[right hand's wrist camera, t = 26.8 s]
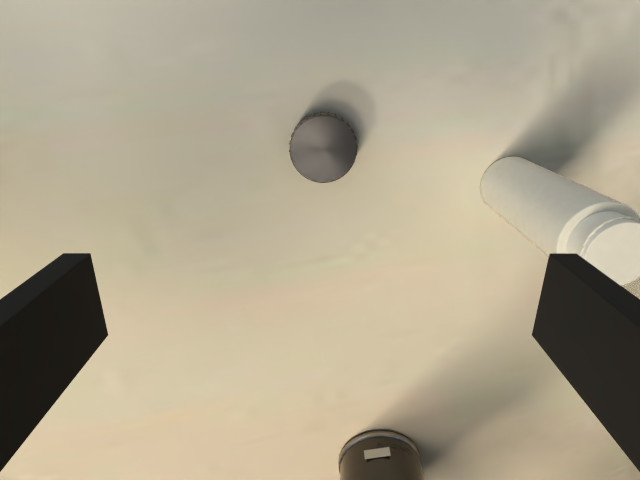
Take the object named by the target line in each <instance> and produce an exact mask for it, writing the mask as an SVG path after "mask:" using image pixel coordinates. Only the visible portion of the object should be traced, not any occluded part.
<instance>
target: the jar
mask: <svg viewBox="0 0 640 480" xmlns="http://www.w3.org/2000/svg"><path fill="white" fill-rule="evenodd" d="M480 194H481V197H482V200H483V201H484V203H485V204H486V205H487V206H488V207H489V208H491V209H492V210H493V211H494V212H495V213H497V214H498V215H499V216H500V217H501V218H503V219H504V220H505V221H506V222H507V223H509V224H510V225H511V226H512V227H513V228H515V229H516V230H517V231H518V232H519V233H521V234H522V235H523V236H524V237H525V238H527V239H528V240H529V241H530V242H531V243H533V244H534V245H535V246H536V247H537V248H539V249H540V250H541V251H542V252H543V253H545V254H546V255H547V256H548V257H549V254H550V253H577V254H578V255H579V256H581V257H582V258H583V259H585V260H586V261H587V262H589V263H590V264H592V265H593V266H594V267H596V268H597V269H598V270H600V271H601V272H603V273H604V274H605V275H607V276H608V277H609V278H611V279H612V280H614V281H615V282H616V283H618V284H619V285H620V286H621V285H625V284H628V283H630V282H632V281H634V280H636V279H637V278H639V277H640V218H639V216H638V215H637V213H636V212H635V211H634V210H633V209H632V208H630V207H629V206H627V205H625V204H623V203H621V202H618V201H616V200H614V199H612V198H610V197H607V196H605V195H603V194H601V193H599V192H596V191H594V190H592V189H590V188H587V187H585V186H583V185H581V184H579V183H576V182H574V181H572V180H570V179H568V178H565V177H563V176H561V175H559V174H557V173H554V172H552V171H550V170H548V169H546V168H543V167H541V166H539V165H537V164H535V163H532V162H530V161H528V160H526V159H523V158H521V157H515V156H513V157H505V158H502V159H500V160H498V161H496V162H495V163H493V164H492V165H491V166H490V167H489V168H488V169H487V170H486V171H485V173H484V175H483V177H482V179H481V183H480Z"/></svg>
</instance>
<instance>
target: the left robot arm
mask: <svg viewBox="0 0 640 480" xmlns="http://www.w3.org/2000/svg"><path fill="white" fill-rule="evenodd" d="M339 472H340V480H425V479H424V475H423V471H422V467H421V459H420V455H419V452H418V449H417V447H416V446H415V445H414V443H413V442H412V441H411V440H409V439H408V438H407V437H405V436H403V435H401V434H398V433H395V432H390V431H372V432H368V433H364V434H361V435H359V436H357V437H355V438H354V439H352V440H351V441H349V442H348V443H347V444H346V445H345V447H344V448H343V449H342V451H341V453H340V456H339Z"/></svg>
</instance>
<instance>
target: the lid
mask: <svg viewBox="0 0 640 480" xmlns="http://www.w3.org/2000/svg"><path fill="white" fill-rule="evenodd" d="M291 137H292V139H291V141H290V143H289V144H290V150H289V152H290V156H291V160H292V162H293V164H294V166H295V168H296V169H297V171H298V172H299V173H300V174H301V175H303V176H304V177H305V178H307V179H309V180H311V181H314V182H320V183H326V182H332V181H335V180H337V179H339V178H341V177H342V176H344V175H345V174H346V173H347V172H348V171H349V170H350V168H351V167H352V165H353V163H354V161H355V158H356V155H357V153H356V152H357V145H356V138H355V136H354V135H353V130H352V129H350V127H349V124H348V123H346V122H345V121H344V120H343V118H340V117H338V116H337V115H336V114H335V115H333V114H330V113H329V112H328V113H322V112H320V113H316V114H314V113H313V115H310V116H308V117H307V116H306V118H305V119H304V120H303V121H300V123H299V125H298V126H296V127H295V131H294V133H292V136H291Z"/></svg>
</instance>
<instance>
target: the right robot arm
mask: <svg viewBox="0 0 640 480" xmlns="http://www.w3.org/2000/svg"><path fill="white" fill-rule="evenodd" d="M107 336H108V332H107V328H106V323H105V319H104V314H103V309H102V305H101V300H100V296H99V291H98V287H97V282H96V277H95V273H94V268H93V264H92V259H91V254H90V253H63V254H62V255H61V256H59V257H58V258H57V259H55V260H54V261H53V262H51V263H50V264H48V265H47V266H46V267H44V268H43V269H42V270H40V271H39V272H37V273H36V274H35V275H33V276H32V277H31V278H29V279H28V280H26V281H25V282H24V283H22V284H21V285H20V286H18V287H17V288H16V289H14V290H13V291H11V292H10V293H9V294H7V295H6V296H5V297H3V298H2V299H0V471H1V470H2V469H3V468H4V466H5V465H6V464H7V463H8V461H9V460H10V459H11V457H12V456H13V455H14V454H15V452H16V451H17V450H18V449H19V447H20V446H21V445H22V444H23V442H24V441H25V440H26V438H27V437H28V436H29V435H30V433H31V432H32V431H33V430H34V428H35V427H36V426H37V425H38V423H39V422H40V421H41V419H42V418H43V417H44V416H45V414H46V413H47V412H48V411H49V409H50V408H51V407H52V405H53V404H54V403H55V402H56V400H57V399H58V398H59V397H60V395H61V394H62V393H63V392H64V390H65V389H66V388H67V386H68V385H69V384H70V383H71V381H72V380H73V379H74V378H75V376H76V375H77V374H78V373H79V371H80V370H81V369H82V367H83V366H84V365H85V364H86V362H87V361H88V360H89V359H90V357H91V356H92V355H93V353H94V352H95V351H96V350H97V348H98V347H99V346H100V345H101V343H102V342H103V341H104V340H105V338H106V337H107ZM532 336H533V337H534V338H535V340H536V341H537V342H538V343H539V345H540V346H541V347H542V348H543V350H544V351H545V352H546V353H547V355H548V356H549V357H550V359H551V360H552V361H553V362H554V364H555V365H556V366H557V367H558V369H559V370H560V371H561V373H562V374H563V375H564V376H565V378H566V379H567V380H568V381H569V383H570V384H571V385H572V386H573V388H574V389H575V390H576V392H577V393H578V394H579V395H580V397H581V398H582V399H583V400H584V402H585V403H586V404H587V405H588V407H589V408H590V409H591V411H592V412H593V413H594V414H595V416H596V417H597V418H598V419H599V421H600V422H601V423H602V425H603V426H604V427H605V428H606V430H607V431H608V432H609V433H610V435H611V436H612V437H613V438H614V440H615V441H616V442H617V444H618V445H619V446H620V447H621V449H622V450H623V451H624V452H625V454H626V455H627V456H628V457H629V459H630V460H631V461H632V463H633V464H634V465H635V466H636V468H637V469H638V470H639V471H640V299H638V298H637V297H635V296H634V295H633V294H631V293H630V292H629V291H627V290H626V289H624V288H623V287H622V286H620V285H619V284H618V283H616V282H615V281H614V280H612V279H611V278H609V277H608V276H607V275H605V274H604V273H603V272H601V271H600V270H598V269H597V268H596V267H594V266H593V265H592V264H590V263H589V262H587V261H586V260H585V259H583V258H582V257H581V256H579V255H578V254H577V253H550V254H549V259H548V264H547V268H546V273H545V277H544V282H543V287H542V291H541V296H540V300H539V305H538V309H537V314H536V319H535V323H534V328H533V332H532Z"/></svg>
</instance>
